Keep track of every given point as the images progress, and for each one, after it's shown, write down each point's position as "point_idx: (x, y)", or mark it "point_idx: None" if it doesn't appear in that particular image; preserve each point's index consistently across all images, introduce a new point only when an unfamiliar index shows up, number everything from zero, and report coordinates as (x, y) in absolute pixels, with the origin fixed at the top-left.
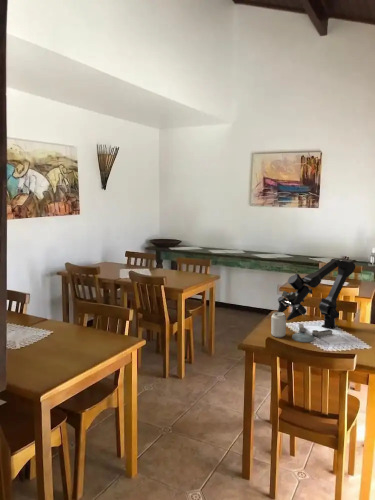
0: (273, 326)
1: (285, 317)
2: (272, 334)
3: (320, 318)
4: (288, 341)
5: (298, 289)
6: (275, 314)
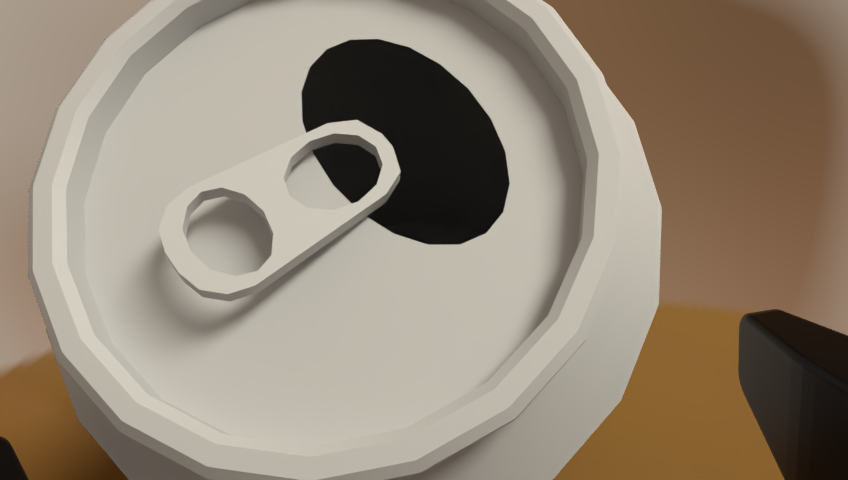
0: (328, 145)
1: (109, 449)
2: (392, 221)
3: None
4: (51, 422)
5: None
6: (658, 208)
